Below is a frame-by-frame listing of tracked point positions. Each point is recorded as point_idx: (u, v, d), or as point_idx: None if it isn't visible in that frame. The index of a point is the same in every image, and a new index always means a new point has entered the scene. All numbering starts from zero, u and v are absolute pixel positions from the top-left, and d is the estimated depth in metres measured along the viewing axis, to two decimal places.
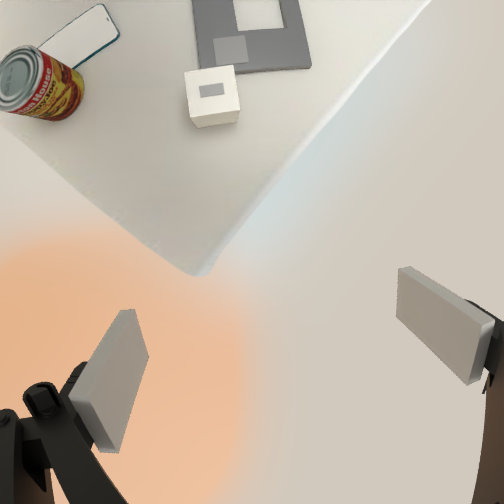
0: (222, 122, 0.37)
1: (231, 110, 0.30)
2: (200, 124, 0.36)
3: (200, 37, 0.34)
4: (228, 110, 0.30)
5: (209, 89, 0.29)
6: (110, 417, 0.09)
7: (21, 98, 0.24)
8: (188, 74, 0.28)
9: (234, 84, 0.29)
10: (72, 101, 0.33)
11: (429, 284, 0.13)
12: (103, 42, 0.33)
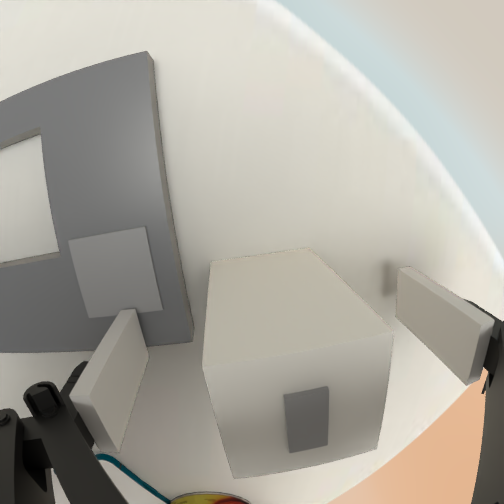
0: None
1: (387, 355, 0.08)
2: None
3: (90, 342, 0.15)
4: (386, 365, 0.08)
5: (305, 429, 0.08)
6: (111, 417, 0.09)
7: None
8: (242, 471, 0.09)
9: (292, 358, 0.08)
10: None
11: (428, 284, 0.13)
12: (122, 475, 0.19)
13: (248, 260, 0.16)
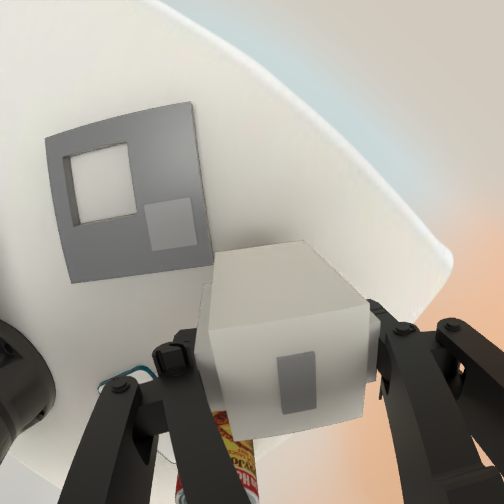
0: None
1: (366, 326, 0.10)
2: None
3: (150, 268, 0.28)
4: (365, 335, 0.10)
5: (296, 391, 0.10)
6: None
7: None
8: (241, 433, 0.11)
9: (283, 324, 0.09)
10: None
11: None
12: None
13: (249, 251, 0.17)
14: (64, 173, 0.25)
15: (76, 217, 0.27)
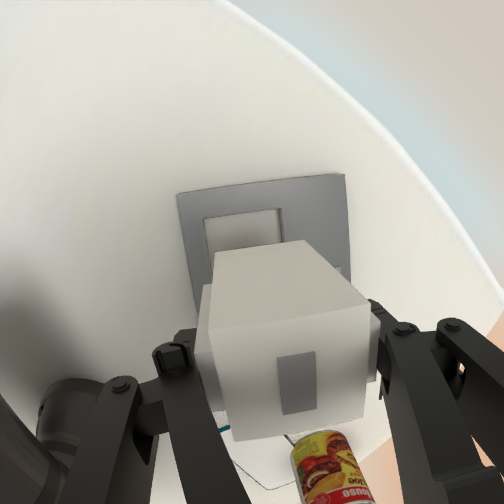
0: None
1: (366, 326, 0.10)
2: None
3: None
4: (366, 335, 0.10)
5: (296, 392, 0.10)
6: None
7: None
8: (241, 434, 0.10)
9: (283, 324, 0.09)
10: (342, 444, 0.33)
11: None
12: None
13: (249, 250, 0.17)
14: (204, 237, 0.26)
15: None
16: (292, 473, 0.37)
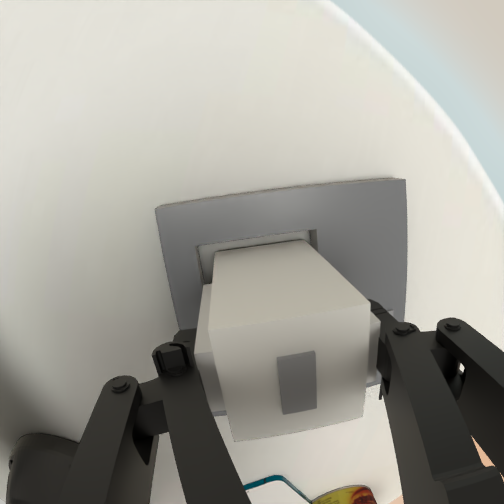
0: None
1: (366, 325, 0.10)
2: None
3: None
4: (366, 334, 0.10)
5: (296, 391, 0.10)
6: None
7: None
8: (241, 433, 0.10)
9: (283, 324, 0.09)
10: (368, 501, 0.24)
11: None
12: (285, 489, 0.24)
13: (249, 250, 0.17)
14: (199, 273, 0.17)
15: None
16: None
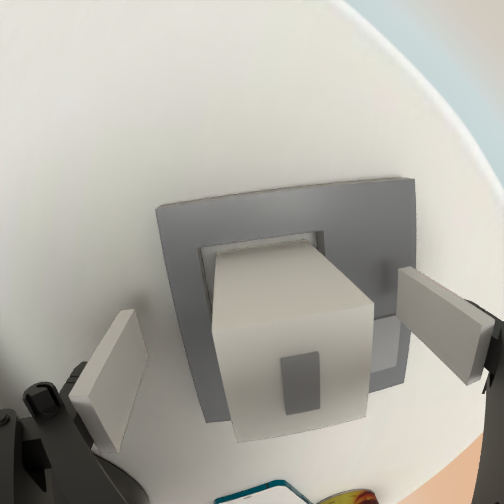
0: None
1: (370, 326, 0.10)
2: None
3: None
4: (369, 335, 0.10)
5: (300, 392, 0.10)
6: (110, 417, 0.09)
7: None
8: (244, 434, 0.10)
9: (287, 325, 0.09)
10: None
11: (429, 284, 0.13)
12: (288, 494, 0.24)
13: (250, 250, 0.17)
14: (201, 276, 0.17)
15: None
16: None
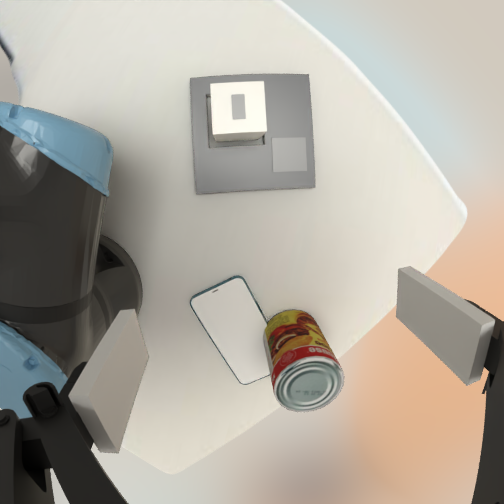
0: None
1: (263, 89, 0.28)
2: None
3: (268, 185, 0.37)
4: (263, 92, 0.28)
5: (237, 108, 0.28)
6: (110, 417, 0.09)
7: (335, 375, 0.33)
8: (216, 129, 0.28)
9: (234, 83, 0.27)
10: (312, 321, 0.41)
11: (429, 284, 0.13)
12: (245, 292, 0.41)
13: None
14: (206, 106, 0.34)
15: (208, 142, 0.36)
16: (266, 363, 0.45)
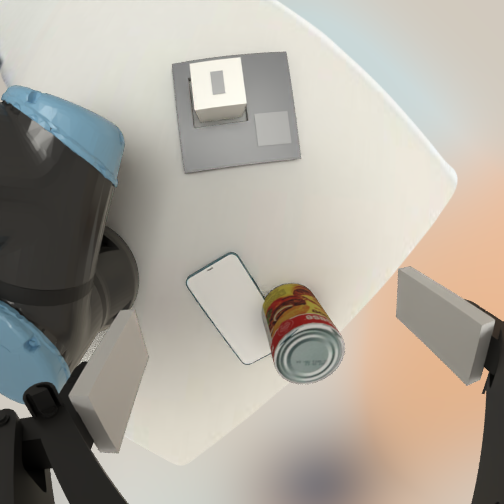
0: None
1: (240, 65, 0.28)
2: None
3: (254, 159, 0.37)
4: (240, 67, 0.28)
5: (217, 84, 0.28)
6: (110, 417, 0.09)
7: (334, 342, 0.33)
8: (197, 105, 0.28)
9: (212, 62, 0.27)
10: (309, 293, 0.41)
11: (429, 284, 0.13)
12: (240, 269, 0.42)
13: None
14: (189, 89, 0.35)
15: (193, 123, 0.37)
16: (267, 340, 0.45)
